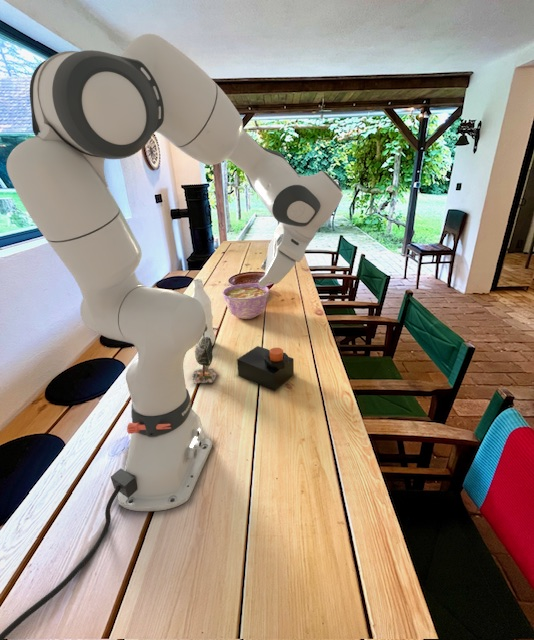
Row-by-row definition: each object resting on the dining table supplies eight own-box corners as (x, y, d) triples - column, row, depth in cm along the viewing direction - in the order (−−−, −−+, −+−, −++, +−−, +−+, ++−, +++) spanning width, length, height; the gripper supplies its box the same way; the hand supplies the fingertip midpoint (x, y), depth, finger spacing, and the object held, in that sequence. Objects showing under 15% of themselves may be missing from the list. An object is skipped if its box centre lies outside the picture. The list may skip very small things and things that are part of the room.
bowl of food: (218, 323, 136) (215, 297, 131) (233, 305, 154) (231, 282, 149) (263, 326, 131) (262, 300, 126) (274, 308, 149) (273, 284, 144)
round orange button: (286, 357, 94) (285, 349, 93) (278, 363, 91) (277, 355, 90) (275, 353, 97) (274, 346, 95) (266, 359, 94) (266, 351, 93)
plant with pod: (222, 366, 105) (216, 310, 97) (212, 387, 95) (204, 326, 87) (198, 365, 106) (190, 309, 98) (186, 385, 96) (175, 325, 88)
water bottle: (212, 350, 115) (203, 283, 105) (193, 349, 116) (183, 283, 106) (218, 341, 121) (211, 277, 111) (200, 339, 123) (192, 276, 112)
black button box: (295, 375, 99) (295, 353, 95) (276, 392, 92) (275, 368, 88) (258, 361, 107) (257, 340, 104) (238, 375, 100) (236, 353, 97)
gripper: (282, 215, 88) (255, 254, 95) (280, 246, 71) (248, 289, 78) (301, 228, 89) (273, 265, 97) (303, 261, 73) (269, 302, 80)
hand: (262, 276), depth 87 cm, fingers open, 8 cm apart
